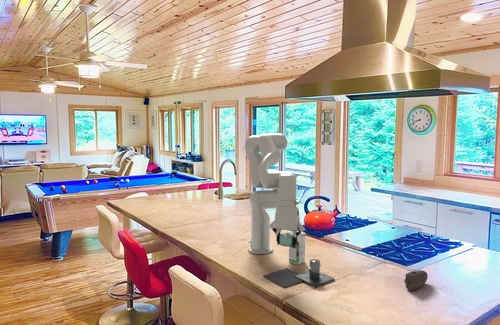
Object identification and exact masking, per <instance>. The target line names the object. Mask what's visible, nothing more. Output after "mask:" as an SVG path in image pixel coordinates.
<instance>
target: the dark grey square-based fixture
mask: <svg viewBox="0 0 500 325" xmlns="http://www.w3.org/2000/svg"><path fill="white" fill-rule="evenodd" d="M321 267H322V263H321V260H319V259H315V258H312V259H310V260H309V265H308V267H307V271H304V272H301V273H299V274H298V275H295V276H294V277H296V278H298V279H300V280H303V282H302V283H304V284H306V285H308V286H310V287H311V288H318V287H321V286H323V285H327V284H328V283H329V284H330V283H331V282H334V281H336V279H335V277H333V276H331V275H328V274H326V273H325V272H324V273H323V272H321Z"/></svg>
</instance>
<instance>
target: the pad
mask: <svg viewBox="0 0 500 325" xmlns="http://www.w3.org/2000/svg"><path fill="white" fill-rule="evenodd" d="M298 274H300V272H296V271H294V270H293V269H290V268H288V267H286V268H283V269H279V270H277V271H273V272H270V273H267V274H263V275H262V277H263V278H265V279H267V280H269V281H271V282H272V283H275V284H276V285H278V286H279V287H282V288H283V289H287V288H290V287H293V286H294V285H298V284H301V283H304V282H303V280H300V279H298V278H296V277H294V276H295V275H298Z"/></svg>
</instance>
